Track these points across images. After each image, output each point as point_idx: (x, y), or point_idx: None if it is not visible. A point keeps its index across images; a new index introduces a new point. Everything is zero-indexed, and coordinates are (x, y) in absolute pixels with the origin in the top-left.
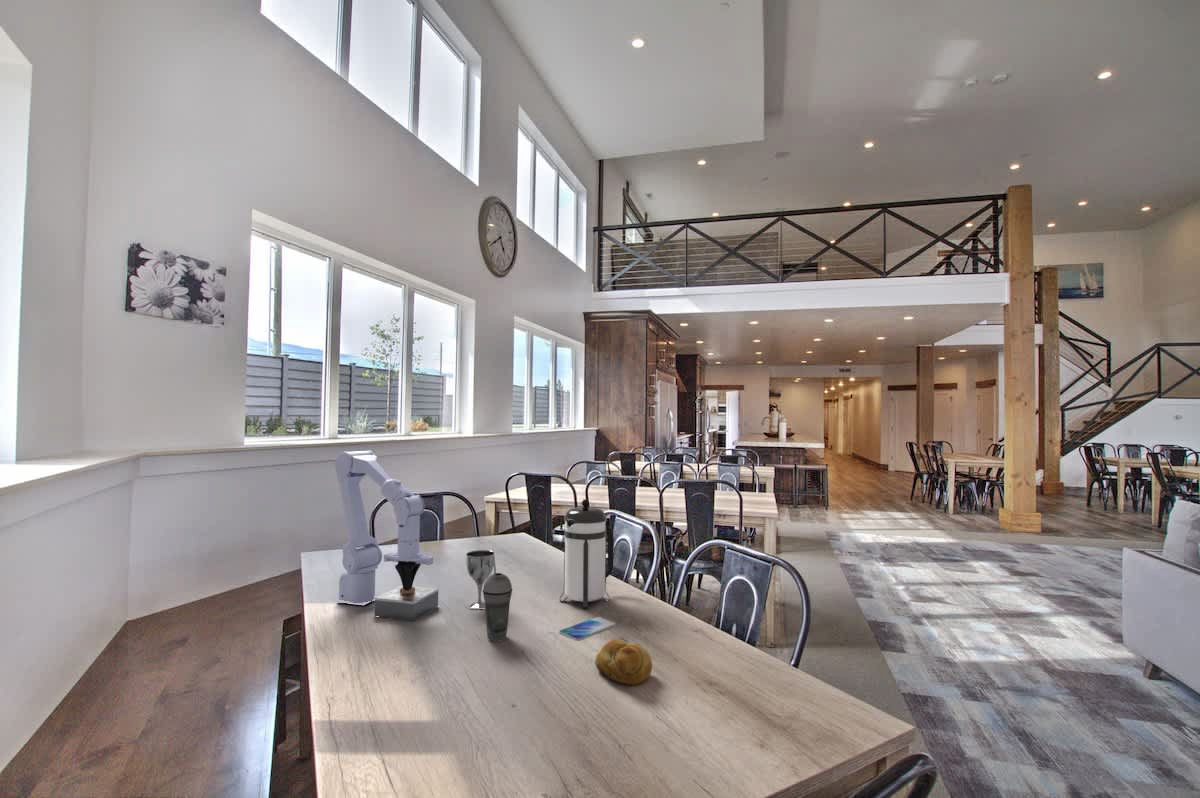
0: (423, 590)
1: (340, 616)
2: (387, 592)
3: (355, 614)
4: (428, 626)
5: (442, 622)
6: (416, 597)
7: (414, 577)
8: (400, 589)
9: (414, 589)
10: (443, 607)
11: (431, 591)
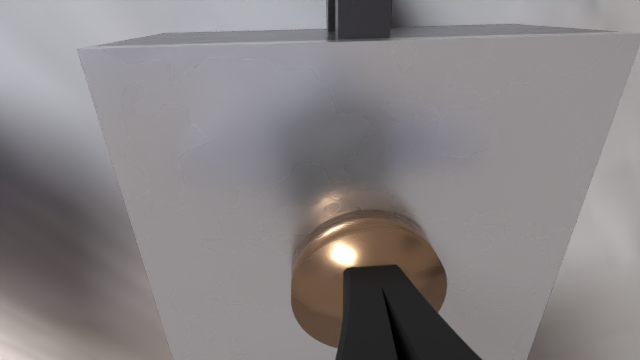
0: (481, 152)
1: (42, 343)
2: (169, 307)
3: (84, 304)
4: (559, 307)
5: (618, 252)
6: (498, 321)
7: (475, 355)
8: (313, 333)
9: (444, 277)
10: (561, 21)
11: (584, 155)
